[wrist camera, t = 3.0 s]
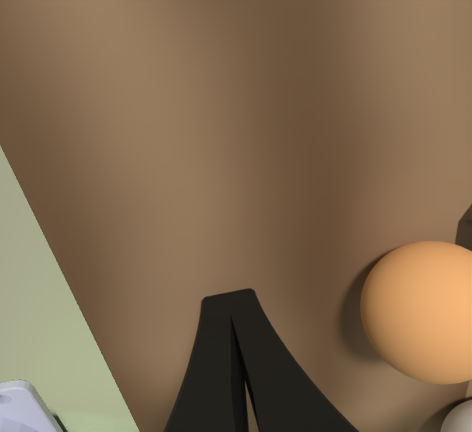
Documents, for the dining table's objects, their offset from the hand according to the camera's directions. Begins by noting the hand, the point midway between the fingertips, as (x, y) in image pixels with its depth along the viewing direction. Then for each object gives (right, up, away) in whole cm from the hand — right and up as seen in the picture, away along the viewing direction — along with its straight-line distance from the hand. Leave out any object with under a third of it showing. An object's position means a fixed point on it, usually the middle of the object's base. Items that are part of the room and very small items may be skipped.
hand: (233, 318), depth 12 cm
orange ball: (+5, 0, -1) cm, 5 cm away
